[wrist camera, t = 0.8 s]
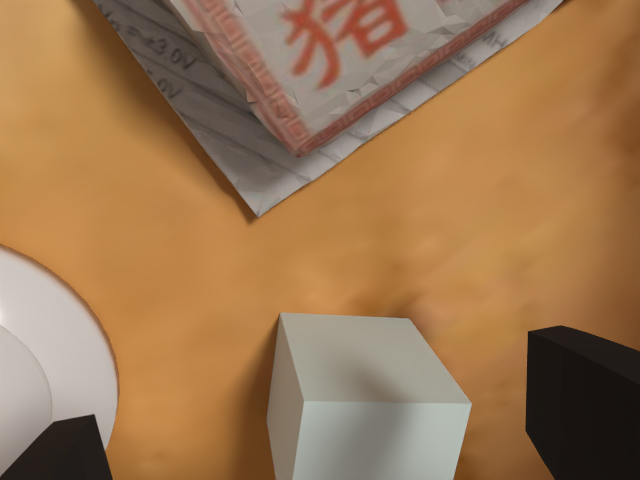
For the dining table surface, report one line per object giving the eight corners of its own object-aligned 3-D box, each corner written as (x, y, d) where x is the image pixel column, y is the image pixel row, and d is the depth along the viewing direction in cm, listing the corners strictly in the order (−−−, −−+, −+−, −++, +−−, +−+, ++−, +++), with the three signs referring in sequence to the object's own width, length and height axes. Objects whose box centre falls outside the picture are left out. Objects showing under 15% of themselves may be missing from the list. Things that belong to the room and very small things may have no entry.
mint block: (408, 317, 19) (472, 403, 15) (388, 419, 21) (441, 528, 16) (279, 311, 18) (304, 401, 14) (266, 418, 20) (284, 533, 15)
